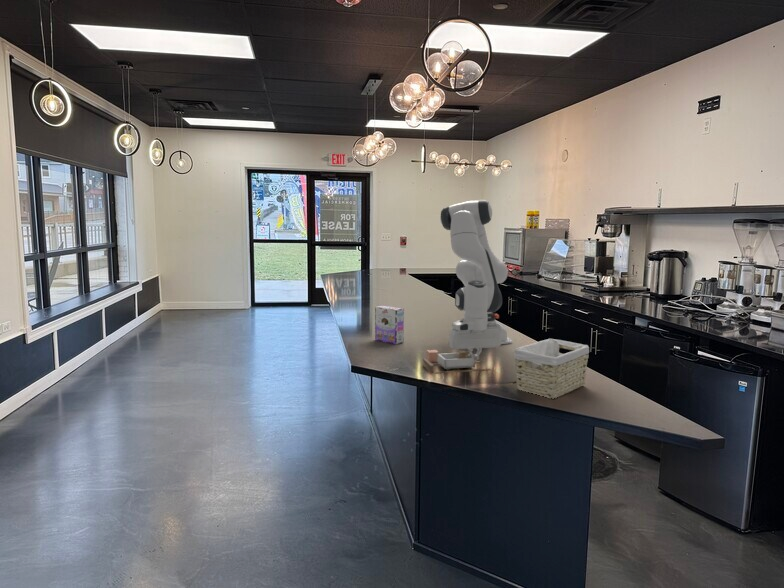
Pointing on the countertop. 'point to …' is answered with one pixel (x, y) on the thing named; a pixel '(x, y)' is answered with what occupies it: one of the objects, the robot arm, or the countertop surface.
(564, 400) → the countertop surface
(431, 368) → the track
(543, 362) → the storage basket
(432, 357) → the block
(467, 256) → the robot arm
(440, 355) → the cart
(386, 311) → the candy box
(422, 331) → the countertop surface
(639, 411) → the countertop surface
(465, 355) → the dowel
